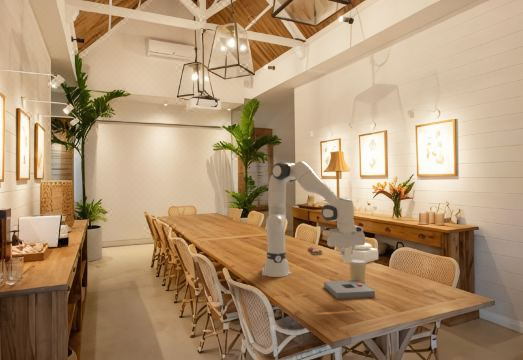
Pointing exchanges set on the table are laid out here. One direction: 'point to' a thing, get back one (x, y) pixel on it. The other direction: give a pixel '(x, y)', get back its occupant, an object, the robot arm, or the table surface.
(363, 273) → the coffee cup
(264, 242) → the table surface
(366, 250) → the butter dish
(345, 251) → the plug
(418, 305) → the table surface
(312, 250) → the pencil case
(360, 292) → the socket plate
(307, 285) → the table surface
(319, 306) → the table surface
